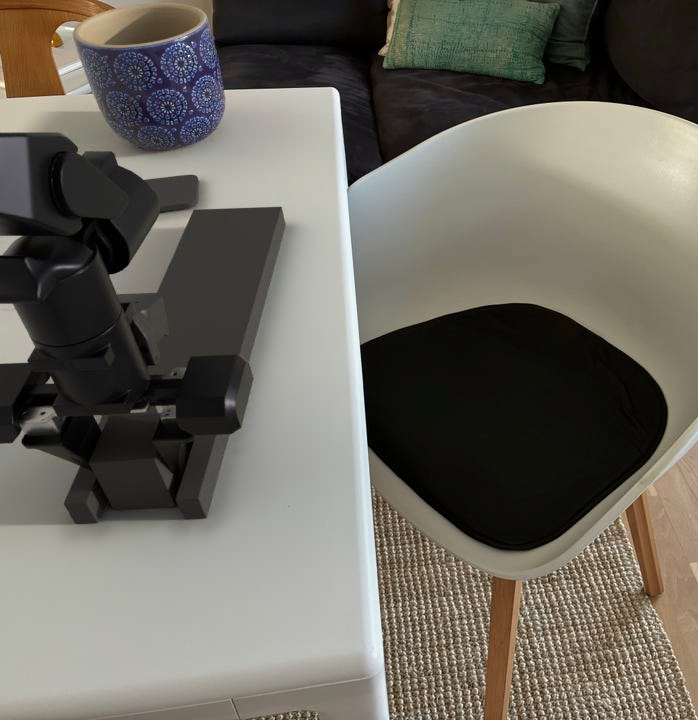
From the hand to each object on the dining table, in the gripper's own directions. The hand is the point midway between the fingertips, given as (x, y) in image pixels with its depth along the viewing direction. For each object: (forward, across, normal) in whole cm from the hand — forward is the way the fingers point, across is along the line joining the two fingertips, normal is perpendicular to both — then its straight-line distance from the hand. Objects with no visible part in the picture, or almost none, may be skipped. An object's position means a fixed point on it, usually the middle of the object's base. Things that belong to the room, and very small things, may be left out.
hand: (147, 473), depth 61 cm
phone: (+2, +14, -45) cm, 47 cm away
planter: (+2, +14, -63) cm, 65 cm away
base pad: (+2, 0, -17) cm, 17 cm away
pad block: (+1, 0, 0) cm, 1 cm away
